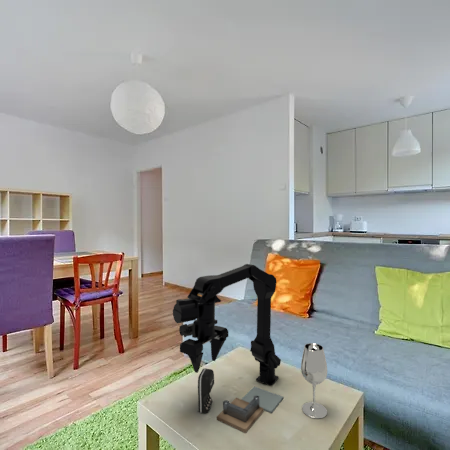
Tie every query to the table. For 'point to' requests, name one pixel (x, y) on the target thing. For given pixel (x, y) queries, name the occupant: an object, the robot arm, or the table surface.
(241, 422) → the rail board
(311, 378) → the wineglass
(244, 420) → the bent rail
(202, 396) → the battery charger
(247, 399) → the end mat
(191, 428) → the table surface
